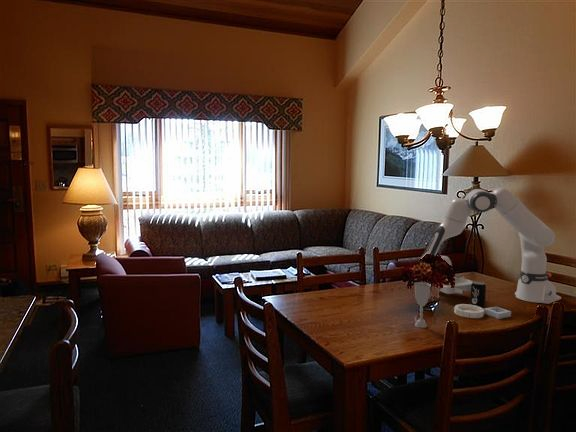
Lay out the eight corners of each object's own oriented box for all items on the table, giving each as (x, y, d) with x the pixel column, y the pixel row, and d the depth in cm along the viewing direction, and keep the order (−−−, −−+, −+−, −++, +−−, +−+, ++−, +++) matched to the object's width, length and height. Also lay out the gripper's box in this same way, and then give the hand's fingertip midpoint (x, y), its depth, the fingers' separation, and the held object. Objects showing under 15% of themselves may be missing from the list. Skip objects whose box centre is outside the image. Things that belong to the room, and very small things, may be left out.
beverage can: (486, 309, 211) (487, 284, 210) (471, 308, 212) (472, 283, 211) (483, 305, 217) (484, 281, 216) (468, 304, 219) (470, 280, 217)
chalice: (408, 324, 189) (410, 283, 187) (418, 321, 194) (420, 281, 192) (423, 329, 184) (425, 287, 182) (433, 326, 188) (434, 284, 186)
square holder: (496, 311, 207) (496, 306, 207) (510, 316, 200) (511, 311, 200) (483, 313, 204) (483, 308, 204) (498, 319, 197) (498, 313, 197)
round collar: (468, 307, 212) (468, 302, 212) (489, 315, 201) (490, 310, 201) (448, 311, 207) (448, 306, 207) (469, 319, 196) (469, 314, 196)
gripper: (434, 280, 226) (454, 287, 214) (464, 276, 235) (485, 282, 222) (433, 292, 227) (454, 299, 215) (463, 287, 235) (484, 294, 223)
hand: (470, 290), depth 218 cm, fingers open, 8 cm apart
